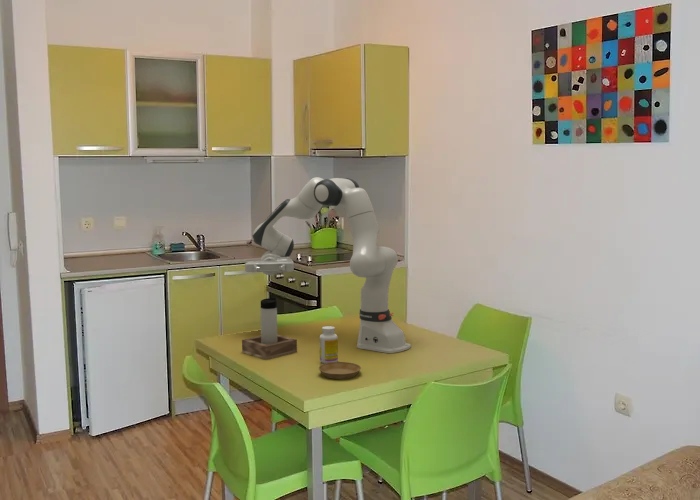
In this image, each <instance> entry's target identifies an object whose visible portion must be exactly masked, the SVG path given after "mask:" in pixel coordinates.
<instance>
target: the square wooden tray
mask: <svg viewBox="0 0 700 500" xmlns="http://www.w3.org/2000/svg"><path fill="white" fill-rule="evenodd" d="M241 348H242V349H241V350H242V351H241V352H242V353H243V354H247V355H249V356H253V357H255V358H259V359H262V360H271V359H275V358H279V357H283V356H287V355H291V354H296V353H298V340H297V339H296V338H293V337H290V336H289V337H288V336H284V335H282V334H278V333H277V343H273V344H269V345H266V344H262V343H261V335H257V336H253V337H248V338H244V339H241Z"/></svg>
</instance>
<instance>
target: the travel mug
mask: <svg viewBox="0 0 700 500" xmlns="http://www.w3.org/2000/svg"><path fill="white" fill-rule="evenodd" d="M277 301H278V300H277V298H276V297H273V296H272V297H270V298H269V297H267V298H264V299H261V300H260V336H261V343H262V344H266V345H269V344H273V343H277V334H278V305H277Z"/></svg>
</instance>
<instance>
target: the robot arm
mask: <svg viewBox="0 0 700 500" xmlns="http://www.w3.org/2000/svg"><path fill="white" fill-rule="evenodd" d="M323 206H326V207H329V206H330V207H337V206H342V207H343V208H344V210H345V214H346V217H347V220H348V225H349V228H350V232H351V235H352V256H351V257H350V260H349V268H350V271H351V272H352V274H353V275H354V276H355V277H358V278H365V282H364V284H363V286H361V287H362V288H361V289H360V308H359V312H358V313H359V319H360V323H359V330H358V337H357V341H356V348H357V349H360V350H361V349H362V350H365V351H366V350H367V351H372V352H380V353H385V354H394V353H400V352H403V351H406V350H409V349H411V348H412V344H410V343H408V342H406V338H405V337H406V336H405V333H404V331H403V330H402V329H401V328H400V327H399V326H398V325H397V324H396V323H395V322H394V321H393V320H392V317H393V316H394V312H391V311H390V309H389V292H390V291H389V290H390V285H391V280H392V277H393V273H394V270H395V268H396V267H397V265H398V261H399V257H398V254H397V252H396V251H395V250H394V249H393V248H391V247H388V246H383V245H382V246H378V237H379V236H378V235H379V232H380V227H379V223H378V219H377V216H376V213H375V209H374V206H373V203H372V202H371V199H370V197H369V195H368V192H367V191H366V189H364V188H362V187H360V186H359V184H358V182H357V181H356V180H354V179H353V178H352V179H351V178H349V177H346V178H345V177H343V178H341V177H333V178H325V179H324V178H322V177H319V176H317V177H313V178H311V179H309V180H308V181H307V182H306V184H305V185H304V186H303V188H302V189H301V190H300V191H299V192H298V194H297V196H295V197H294V198H287V199H285V200H284V201H282V202H281V203H280V204H279V205H278V206H277V207H276V208H275V209H274V210H273V211H272V212H271V213H270V214H269V215H268V216H267V217H266V219H265V220H264V221H263V222H261V223H260V224H258V225H257V226H256V228H255V229H254V230H253V233H252V239H253V242H254V243H255V244H256V245H258V246H259V247H263V248H265V249H266V250H267V251H265V252H264V253H263V254H262V255H261V257H260V260H257V261H256V260H254V261H251V260H250V261H246V262H245V263H244V271H245V272H246V273H263V274H265V275H268V276H273V275H276V274H280V273H289V272H294V270H295V266H294V265H295V263H294V261H293V259H291V254H292V252H293V251H294V248H295V247H294V246H295V242H294V239H293V238H292V237H290V236H289V235H287V234H285V233H283V232H282V231H280V230H279V229H276V228H275V227H274V225H275V224H277V222H278V221H280V219H281V218H283V217H289V218H294V219H298V220H311V219H312V218H314V217H316V215H317V214H318V213H319V212H320V210H321V209H322V207H323Z"/></svg>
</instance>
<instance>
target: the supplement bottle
mask: <svg viewBox="0 0 700 500" xmlns="http://www.w3.org/2000/svg"><path fill="white" fill-rule="evenodd" d="M321 332H322V334H320V336H319V362H320V363H322V364H325V363H330V362H339V353H338V352H339V347H338V346H339V343H338V342H339V341H338V339H339V338H338V335H337V334H336V333H335V332H336V327H334V326H330V325H329V326H328V325H327V326H326V325H325V326H322V328H321Z"/></svg>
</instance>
